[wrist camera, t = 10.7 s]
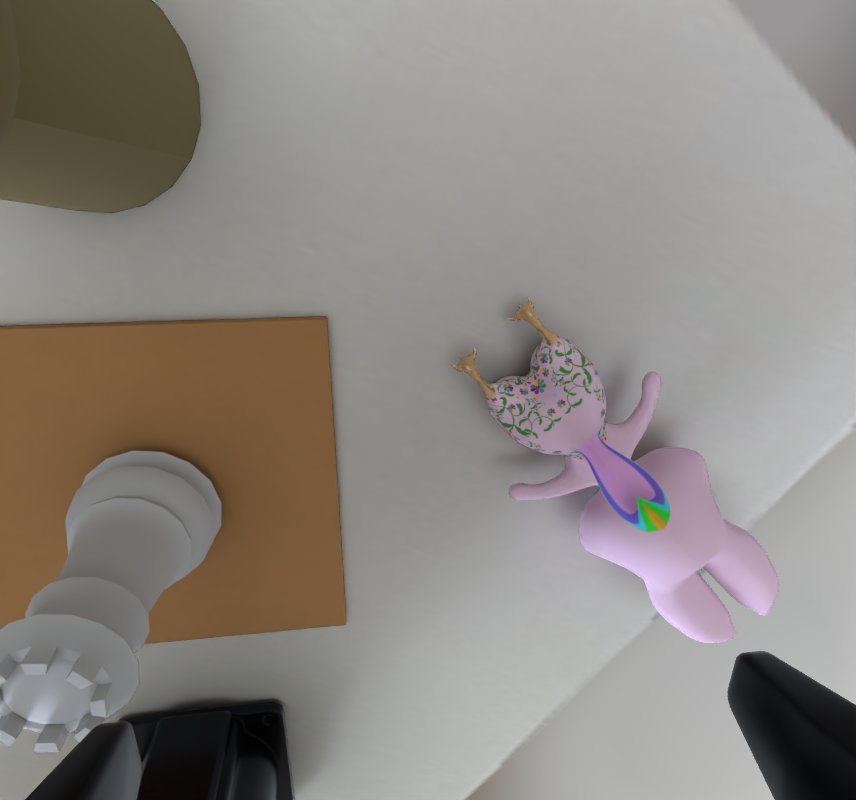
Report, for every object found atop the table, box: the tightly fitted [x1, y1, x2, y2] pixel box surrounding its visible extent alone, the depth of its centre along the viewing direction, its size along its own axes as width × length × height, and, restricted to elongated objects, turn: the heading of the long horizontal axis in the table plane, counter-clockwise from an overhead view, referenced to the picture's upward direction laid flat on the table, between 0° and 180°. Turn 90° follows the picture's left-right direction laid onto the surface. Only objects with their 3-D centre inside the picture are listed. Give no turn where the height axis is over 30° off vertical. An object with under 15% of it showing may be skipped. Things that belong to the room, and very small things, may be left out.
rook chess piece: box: [0, 451, 221, 753], centre depth 16 cm, size 4×4×8 cm
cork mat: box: [0, 316, 346, 644], centre depth 20 cm, size 12×12×1 cm
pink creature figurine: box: [452, 297, 779, 643], centre depth 19 cm, size 6×6×15 cm
